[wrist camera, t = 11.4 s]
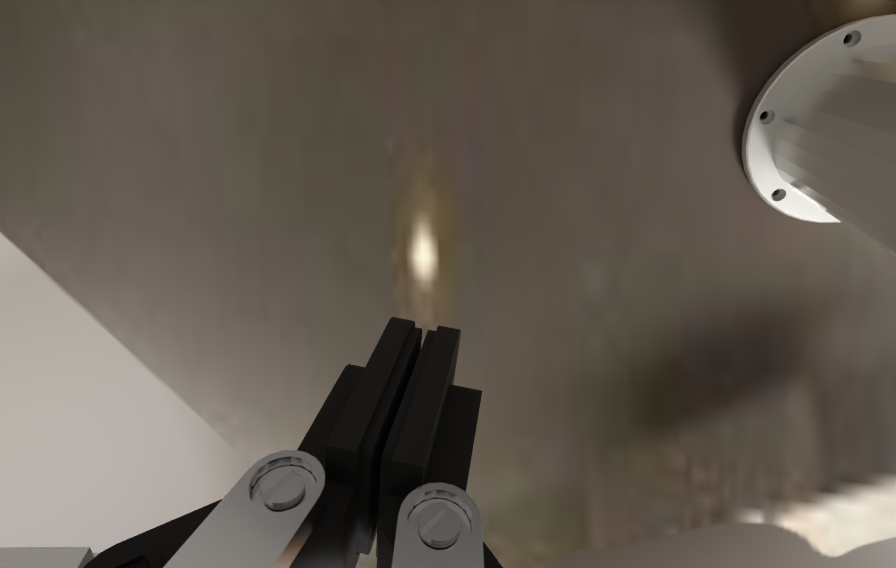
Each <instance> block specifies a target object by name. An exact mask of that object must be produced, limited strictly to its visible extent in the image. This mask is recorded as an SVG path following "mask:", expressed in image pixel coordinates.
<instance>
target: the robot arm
mask: <svg viewBox="0 0 896 568" xmlns="http://www.w3.org/2000/svg"><path fill="white" fill-rule="evenodd" d="M846 35H848V40H847V41H846V42H845V43H843V41H844V38H845V36H846ZM764 111H765V113H766V114H765V116H764V117H763V118H762V119H760V115H761V114H762V113H763V112H764ZM742 160H743V166H744V171H745V173H746V175H747V178H748V180H749V182H750V184H751V186H752V187H753V188H754V190H755V191H756V192H757V194H758V195H759V196H760V197H761V198H762V199H763V200H764V201H766V202H767V203H768V204H769V205H770V206H772V207H773V208H775V209H777V210H778V211H780V212H782V213H783V214H785V215H788V216H791V217H793V218H796V219H799V220H803V221H810V222H816V223H840V222H842V223H844V224H845V225H847V226H848V227H850V228H851V229H853V230H855V231H856V232H858V233H859V234H861V235H862V236H864V237H865V238H867V239H868V240H870V241H871V242H873V243H874V244H876V245H877V246H879V247H880V248H882V249H883V250H885V251H886V252H888V253H889V254H891V255H893V256H894V257H896V14H892V15H881V16H872V17H868V18H864V19H860V20H857V21H853V22H849V23H847V24H844V25H842V26H840V27H837V28H835V29H833V30H830V31H828V32H826V33H824V34H822V35H821V36H819V37H818V38H816V39H814V40H813V41H811V42H810V43H808V44H806V45H805V46H803V47H802V48H801V49H800V50H798V51H797V52H796V53H795V54H794V55H792V56H791V57H790V58H789V59H788V60H786V61H785V62H784V63H783V64H782V65H781V66H780V68H779V69H778V70H777V71H776V72H775V73H774V74H773V75H772V76H771V77H770V79H769V80H768V81H767V83H766V84H765V86H764V87H763V89H762V90H761V92H760V93H759V95H758V96H757V98H756V99H755V101H754V104H753V106H752V108H751V110H750V112H749V115H748V117H747V120H746V124H745V128H744V132H743V136H742ZM775 190H777V191H776V193H774V194H772V193H773V192H774V191H775ZM460 334H461V330H459V329H454V328H448V327H443V326H438V328H437V330H436V331H431V330H428V332H427V335H426V337H425V340H424V343H423V345H422V348H421V340H422V329H421V328H416V327H415V322H414V321H411V320H406V319H401V318H395V317H392V318H391V319H390V321H389V322H388V324H387V326H386V328H385V330H384V332H383V334H382V336H381V338H380V340H379V342H378V344H377V346H376V348H375V350H374V351H373V353H372V355H371V357H370V359H369V361H368V363H367V365H366V367H360V366H355V365H350V364H349V365H347V366H346V367H345V368H344V370H343V371H342V373H341V375H340V377H339V378H338V380H337V382H336V384H335V385H334V387H333V389H332V391H331V392H330V394H329V396H328V397H327V399H326V401H325V403H324V404H323V406H322V408H321V410H320V411H319V413H318V415H317V417H316V418H315V420H314V422H313V424H312V425H311V427H310V429H309V430H308V432H307V434H306V436H305V437H304V439H303V441H302V443H301V444H300V446H299V448H298V450H284V451H279V452H276V453H272V454H269V455H268V456H266V457H264V458H262V459H260V460H258V461H257V462H256V463H255V464H254V465H253V466H252V467H251V468H249V469H248V471H247V472H246V473H245V474H244V475H243V476H242V477H241V479H240V480H239V481H238V482H237V483H236V484H235V486H234V487H233V488H232V489H231V490H230V492H229V493H228V494H227V495H226V496H225V497H224V498H223V499H221V500H219V501H216V502H214V503H212V504H209V505H207V506H205V507H203V508H200V509H198V510H195V511H193V512H191V513H188V514H186V515H184V516H181V517H179V518H177V519H174V520H172V521H170V522H167V523H165V524H163V525H160V526H158V527H155V528H153V529H151V530H149V531H146V532H144V533H141V534H139V535H137V536H134V537H132V538H130V539H127V540H125V541H123V542H120V543H118V544H116V545H114V546H112V547H110V548H108V549H106V550H105V551H103V552H101V553H92V551H91V549H90V547H24V548H22V547H20V548H0V568H355V567H356V564H357V561H358V558H359V555H360V553H363V554H367V555H369V553H370V551H371V548H372V545H373V542H374V539H375V536H376V533H377V546H376V557H377V568H503V567H502V566H501V564H500V563H499V562H498V560H497V559H496V558H495V556H494V555H493V554H492V552H491V551H490V550H489V548H488V547H487V546H486V544H485V543H484V542H483V530H482V519H481V514H480V510H479V508H478V507H477V505H476V503H475V501H474V500H473V499H472V498H471V497H470V496H469V495H468V494H467V493H466V486H467V480H468V474H469V468H470V462H471V456H472V450H473V444H474V438H475V431H476V425H477V419H478V413H479V407H480V401H481V395H482V391H480V390H475V389H470V388H465V387H460V386H455V385H453V383H454V376H455V369H456V362H457V355H458V348H459V341H460ZM420 350H421V351H420Z"/></svg>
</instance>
